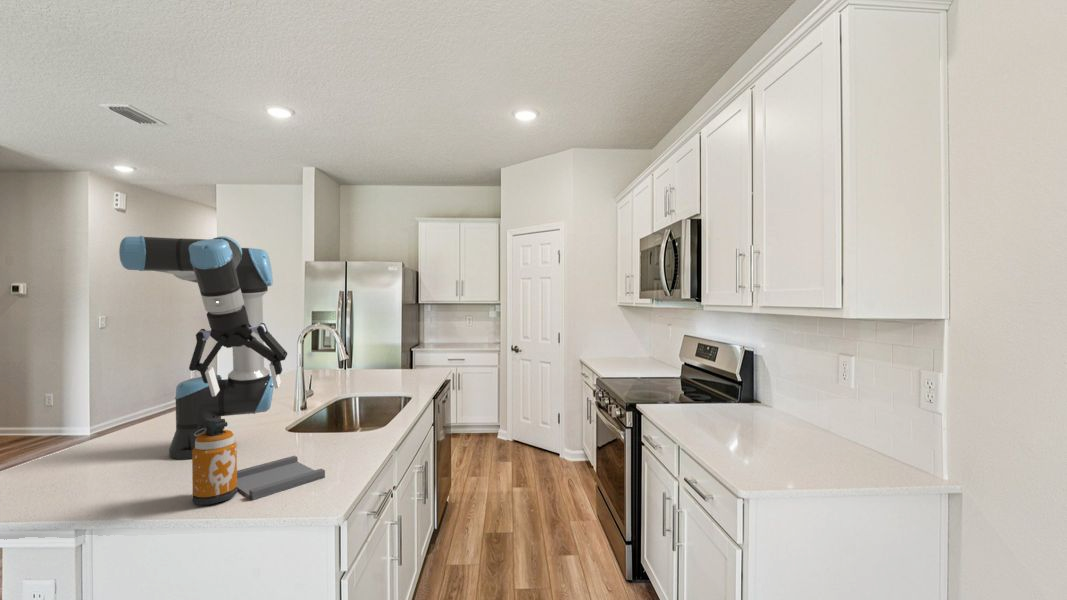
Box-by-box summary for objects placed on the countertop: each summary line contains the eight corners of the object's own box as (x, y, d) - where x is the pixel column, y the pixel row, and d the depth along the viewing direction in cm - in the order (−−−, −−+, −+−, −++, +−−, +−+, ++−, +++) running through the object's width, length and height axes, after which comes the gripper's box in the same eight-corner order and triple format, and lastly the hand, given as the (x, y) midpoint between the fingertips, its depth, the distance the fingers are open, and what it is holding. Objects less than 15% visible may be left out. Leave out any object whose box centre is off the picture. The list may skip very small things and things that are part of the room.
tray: (225, 481, 125) (225, 473, 125) (294, 462, 139) (294, 455, 139) (252, 500, 113) (252, 492, 113) (324, 477, 127) (324, 470, 127)
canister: (203, 510, 108) (202, 424, 108) (181, 499, 114) (181, 417, 114) (244, 496, 116) (243, 415, 115) (222, 486, 121) (221, 409, 121)
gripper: (153, 320, 99) (182, 405, 107) (281, 309, 105) (299, 390, 113) (170, 307, 106) (195, 388, 114) (289, 297, 112) (305, 374, 120)
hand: (247, 389), depth 113 cm, fingers open, 13 cm apart
